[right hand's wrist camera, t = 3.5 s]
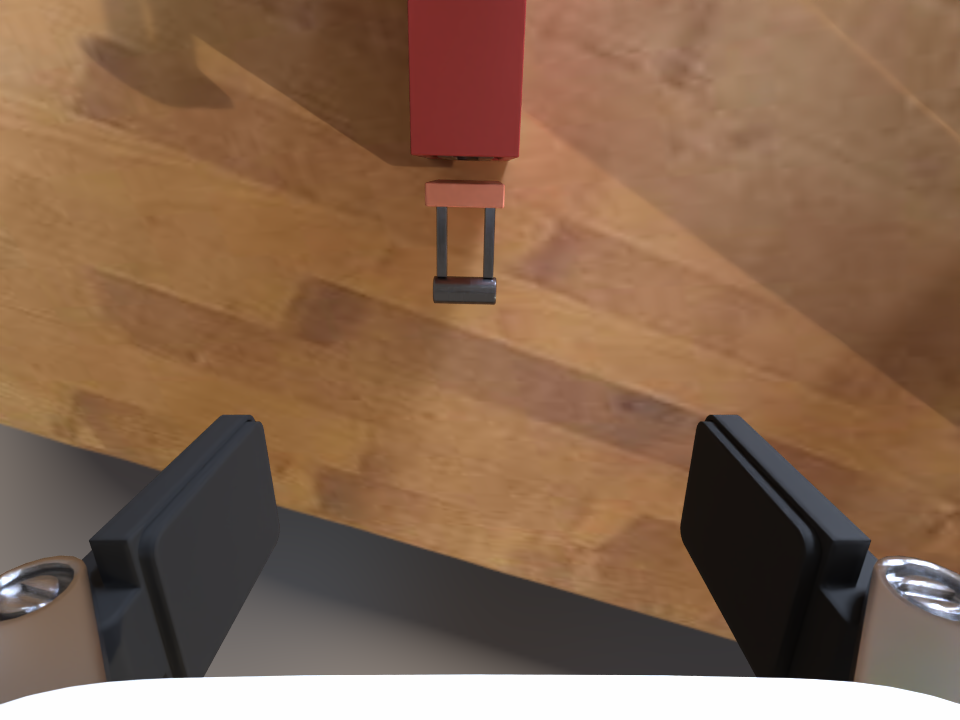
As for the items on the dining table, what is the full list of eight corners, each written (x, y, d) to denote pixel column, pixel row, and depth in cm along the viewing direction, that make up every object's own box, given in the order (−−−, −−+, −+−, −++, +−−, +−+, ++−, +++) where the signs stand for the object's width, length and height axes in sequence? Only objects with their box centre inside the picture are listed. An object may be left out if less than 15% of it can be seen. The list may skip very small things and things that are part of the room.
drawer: (495, 286, 36) (499, 316, 29) (437, 285, 36) (426, 315, 29) (512, -193, 27) (525, -328, 20) (435, -196, 27) (418, -332, 20)
